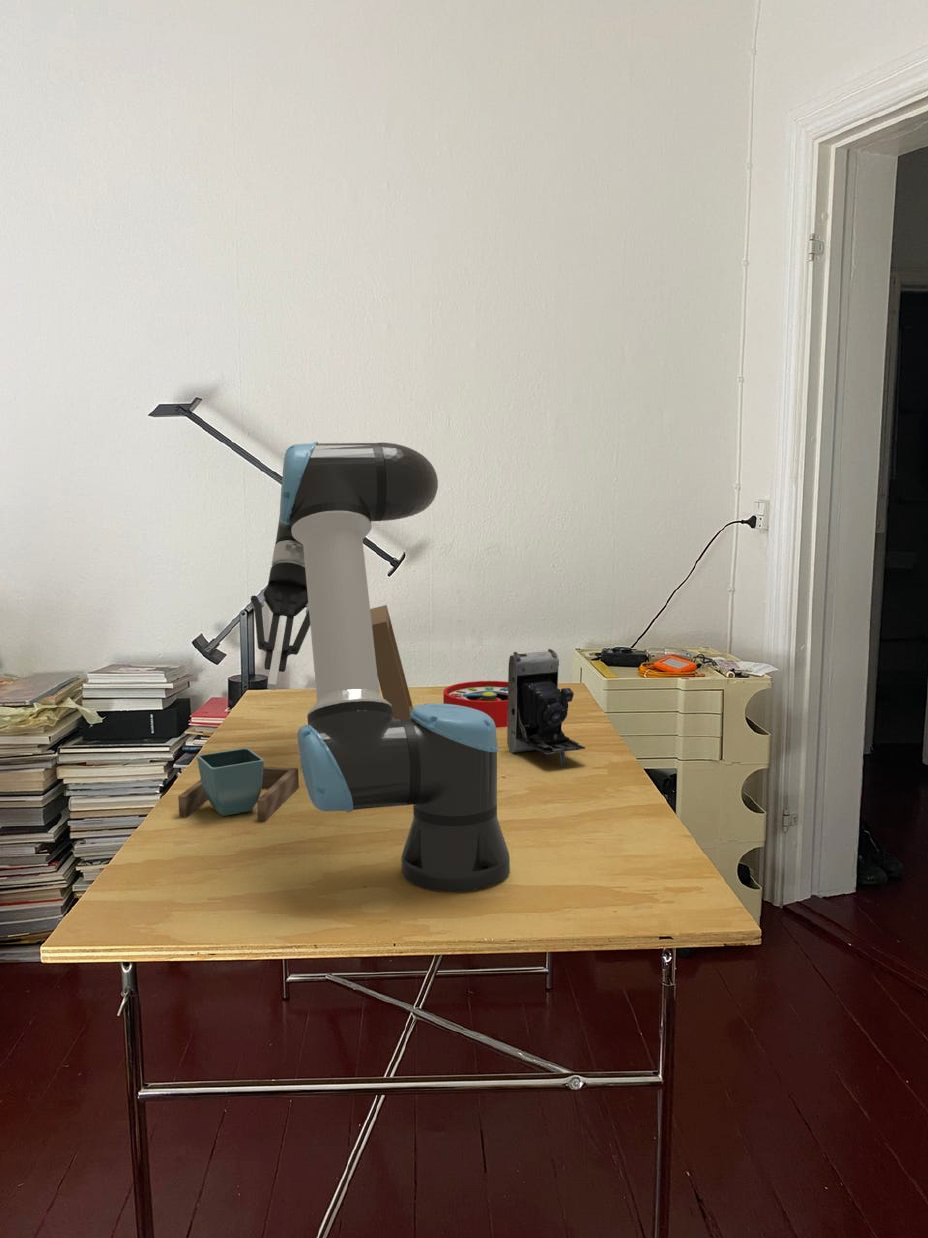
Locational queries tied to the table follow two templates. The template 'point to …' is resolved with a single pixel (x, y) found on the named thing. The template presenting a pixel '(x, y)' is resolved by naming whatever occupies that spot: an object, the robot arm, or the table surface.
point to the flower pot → (231, 779)
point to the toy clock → (481, 698)
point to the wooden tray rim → (280, 789)
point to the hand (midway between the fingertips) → (271, 686)
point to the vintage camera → (537, 705)
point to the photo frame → (390, 664)
